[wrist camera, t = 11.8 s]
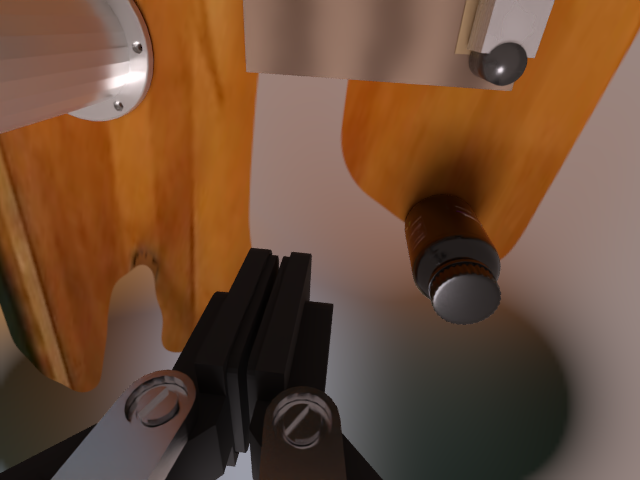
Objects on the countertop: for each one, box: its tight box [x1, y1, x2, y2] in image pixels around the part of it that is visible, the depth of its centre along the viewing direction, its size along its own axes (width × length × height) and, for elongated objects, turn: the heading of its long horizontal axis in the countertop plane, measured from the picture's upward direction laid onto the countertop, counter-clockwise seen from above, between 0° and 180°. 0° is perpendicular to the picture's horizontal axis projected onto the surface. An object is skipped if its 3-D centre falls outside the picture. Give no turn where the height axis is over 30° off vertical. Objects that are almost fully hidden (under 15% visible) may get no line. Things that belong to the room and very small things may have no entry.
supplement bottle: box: [405, 195, 501, 325], centre depth 31 cm, size 7×7×12 cm
